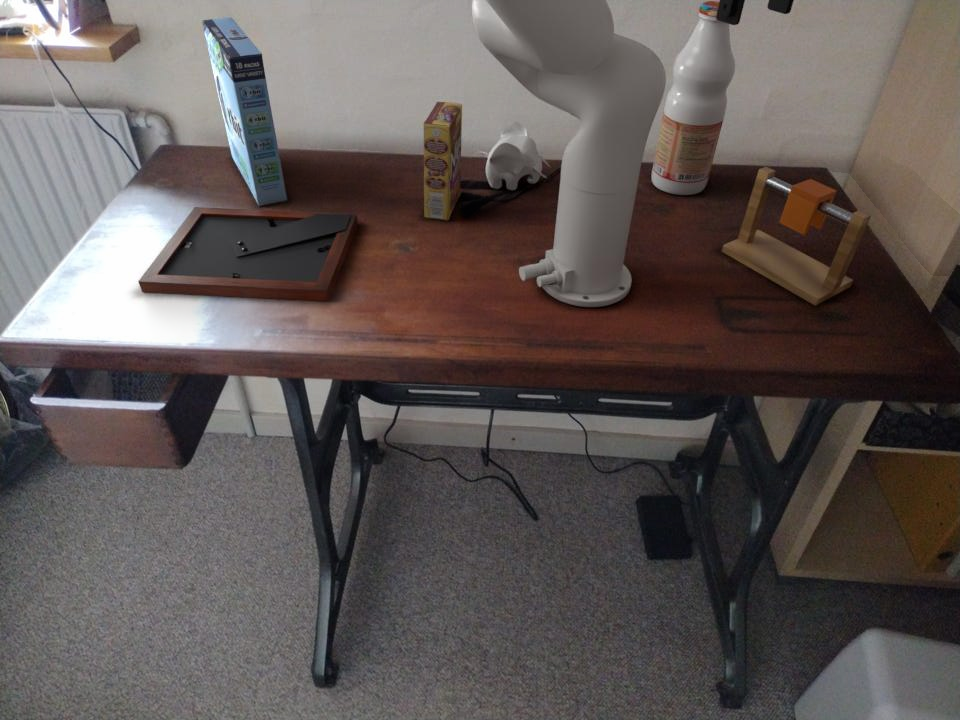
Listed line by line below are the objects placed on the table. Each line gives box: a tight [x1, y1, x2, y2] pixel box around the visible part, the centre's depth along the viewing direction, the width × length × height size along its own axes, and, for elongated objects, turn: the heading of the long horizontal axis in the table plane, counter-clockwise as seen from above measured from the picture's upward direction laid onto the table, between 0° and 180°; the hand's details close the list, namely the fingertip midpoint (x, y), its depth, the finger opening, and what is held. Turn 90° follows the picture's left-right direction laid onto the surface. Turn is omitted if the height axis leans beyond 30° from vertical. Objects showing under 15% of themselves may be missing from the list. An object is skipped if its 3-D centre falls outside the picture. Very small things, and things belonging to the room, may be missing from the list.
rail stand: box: [721, 166, 872, 306], centre depth 94 cm, size 8×16×12 cm, turn 34°
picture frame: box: [138, 206, 359, 302], centre depth 98 cm, size 20×2×25 cm
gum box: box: [201, 16, 288, 207], centre depth 108 cm, size 20×5×23 cm, turn 27°
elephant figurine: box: [479, 121, 552, 191], centre depth 113 cm, size 10×12×9 cm
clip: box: [778, 178, 838, 236], centre depth 91 cm, size 4×4×6 cm
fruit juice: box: [650, 0, 736, 196], centre depth 108 cm, size 9×9×28 cm
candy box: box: [423, 101, 463, 221], centre depth 105 cm, size 9×4×15 cm, turn 169°
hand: (753, 16), depth 86 cm, fingers open, 9 cm apart
